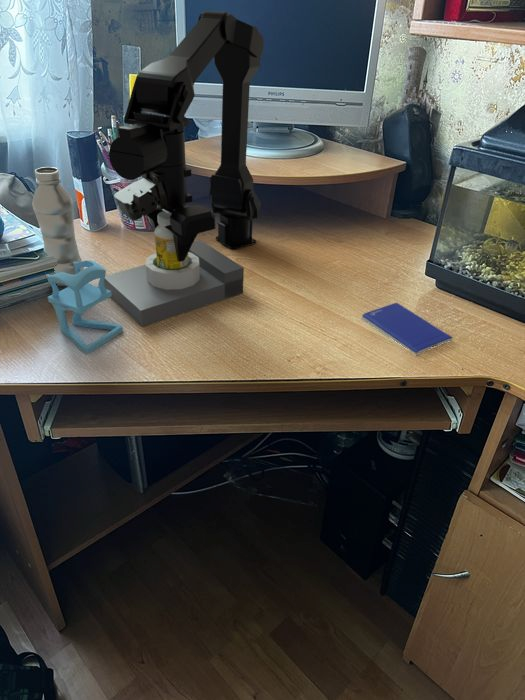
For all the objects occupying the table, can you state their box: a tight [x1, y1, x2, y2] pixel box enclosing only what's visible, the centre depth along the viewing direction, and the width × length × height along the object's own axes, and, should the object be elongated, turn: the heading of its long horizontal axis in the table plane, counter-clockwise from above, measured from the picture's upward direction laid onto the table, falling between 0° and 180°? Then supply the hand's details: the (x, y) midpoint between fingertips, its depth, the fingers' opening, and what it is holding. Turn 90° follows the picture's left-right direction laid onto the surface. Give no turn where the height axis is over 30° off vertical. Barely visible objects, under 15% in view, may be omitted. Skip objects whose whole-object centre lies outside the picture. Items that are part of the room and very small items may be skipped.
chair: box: [45, 259, 124, 354], centre depth 82 cm, size 8×8×12 cm
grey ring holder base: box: [104, 239, 245, 328], centre depth 95 cm, size 20×14×6 cm
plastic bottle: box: [31, 166, 85, 287], centre depth 93 cm, size 6×7×20 cm
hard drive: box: [361, 302, 453, 356], centre depth 90 cm, size 2×8×12 cm
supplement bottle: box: [154, 211, 189, 270], centre depth 92 cm, size 5×5×10 cm
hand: (172, 254), depth 93 cm, fingers closed on supplement bottle, 5 cm apart
